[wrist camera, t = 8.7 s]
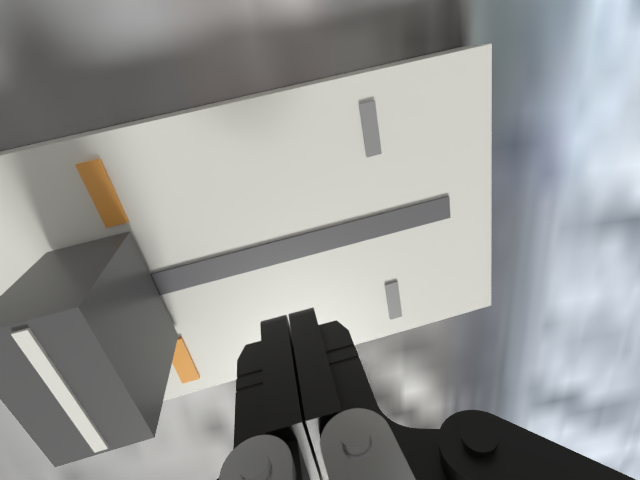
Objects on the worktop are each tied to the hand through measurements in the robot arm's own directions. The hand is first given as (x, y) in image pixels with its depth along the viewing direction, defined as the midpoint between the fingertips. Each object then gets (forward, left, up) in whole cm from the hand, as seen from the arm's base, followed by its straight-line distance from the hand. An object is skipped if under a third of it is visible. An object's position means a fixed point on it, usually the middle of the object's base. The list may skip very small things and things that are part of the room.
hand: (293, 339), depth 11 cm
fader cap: (+6, 0, -6) cm, 8 cm away
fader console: (+1, 0, -8) cm, 8 cm away
